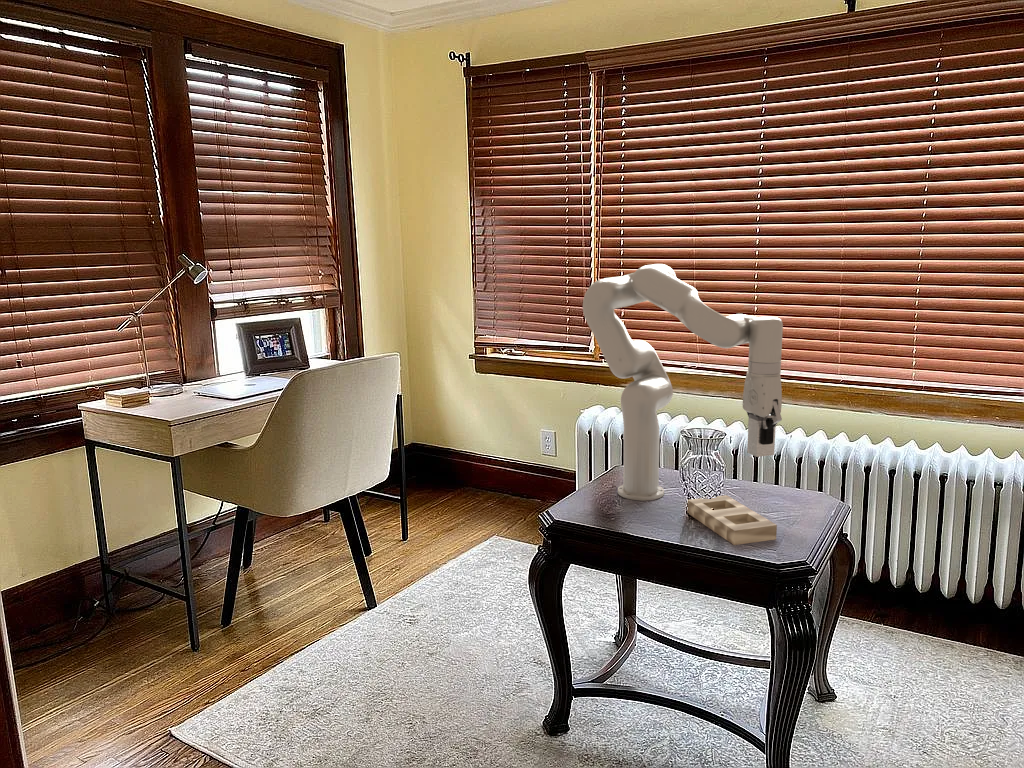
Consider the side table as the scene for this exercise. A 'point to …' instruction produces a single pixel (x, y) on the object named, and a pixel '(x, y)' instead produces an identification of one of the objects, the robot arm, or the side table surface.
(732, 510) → the tan cinder block
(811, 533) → the side table surface
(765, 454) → the white rectangular block
